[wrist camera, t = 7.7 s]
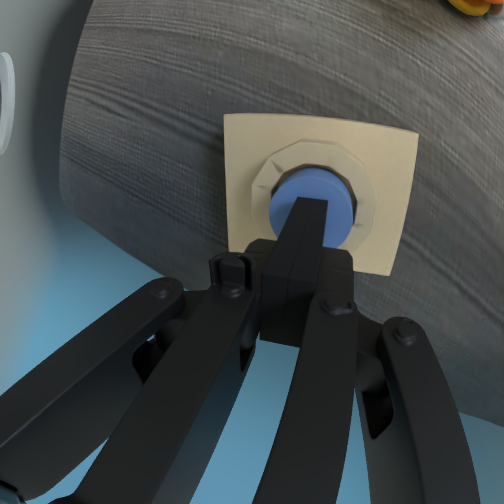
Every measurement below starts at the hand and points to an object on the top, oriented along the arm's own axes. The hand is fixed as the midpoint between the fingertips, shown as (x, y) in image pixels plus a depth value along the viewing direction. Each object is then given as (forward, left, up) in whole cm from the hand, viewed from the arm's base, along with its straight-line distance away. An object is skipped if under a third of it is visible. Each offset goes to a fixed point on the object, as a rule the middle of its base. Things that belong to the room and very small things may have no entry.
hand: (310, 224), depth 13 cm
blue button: (0, 0, -3) cm, 3 cm away
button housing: (0, 0, -7) cm, 7 cm away
